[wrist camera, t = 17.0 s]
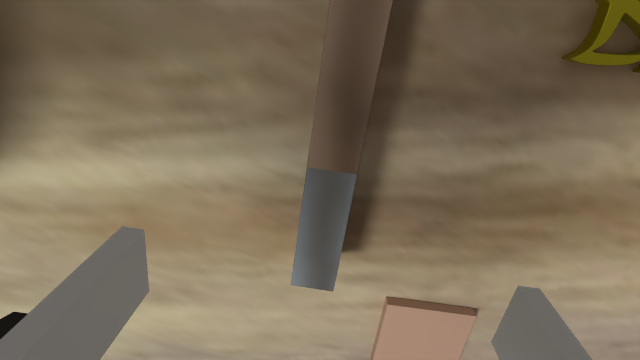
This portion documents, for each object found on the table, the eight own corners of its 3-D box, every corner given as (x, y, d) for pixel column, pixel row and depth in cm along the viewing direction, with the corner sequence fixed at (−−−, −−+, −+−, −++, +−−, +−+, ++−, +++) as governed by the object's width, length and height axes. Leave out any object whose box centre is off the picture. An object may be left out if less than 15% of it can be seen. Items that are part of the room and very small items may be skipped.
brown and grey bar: (298, 247, 38) (290, 284, 33) (341, -57, 27) (340, -77, 21) (334, 252, 38) (333, 291, 33) (393, -49, 27) (406, -67, 21)
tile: (385, 293, 41) (370, 354, 45) (387, 304, 39) (371, 366, 43) (471, 305, 41) (448, 364, 45) (476, 316, 39) (451, 376, 43)
